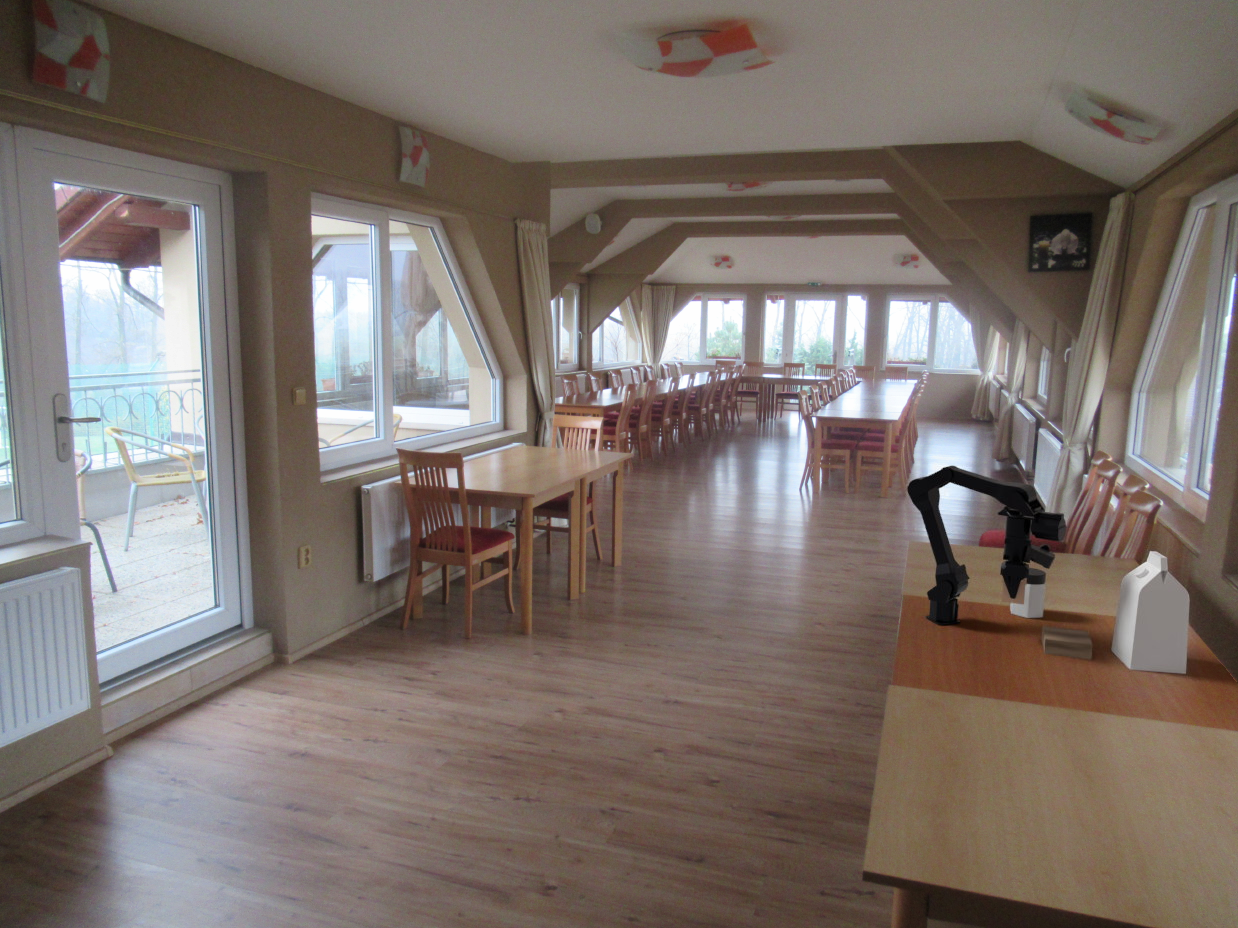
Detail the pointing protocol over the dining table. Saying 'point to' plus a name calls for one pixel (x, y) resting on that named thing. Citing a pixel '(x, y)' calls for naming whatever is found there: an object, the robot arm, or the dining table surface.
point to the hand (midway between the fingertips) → (1013, 595)
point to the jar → (1032, 596)
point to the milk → (1152, 619)
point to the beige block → (1066, 642)
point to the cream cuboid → (1019, 596)
